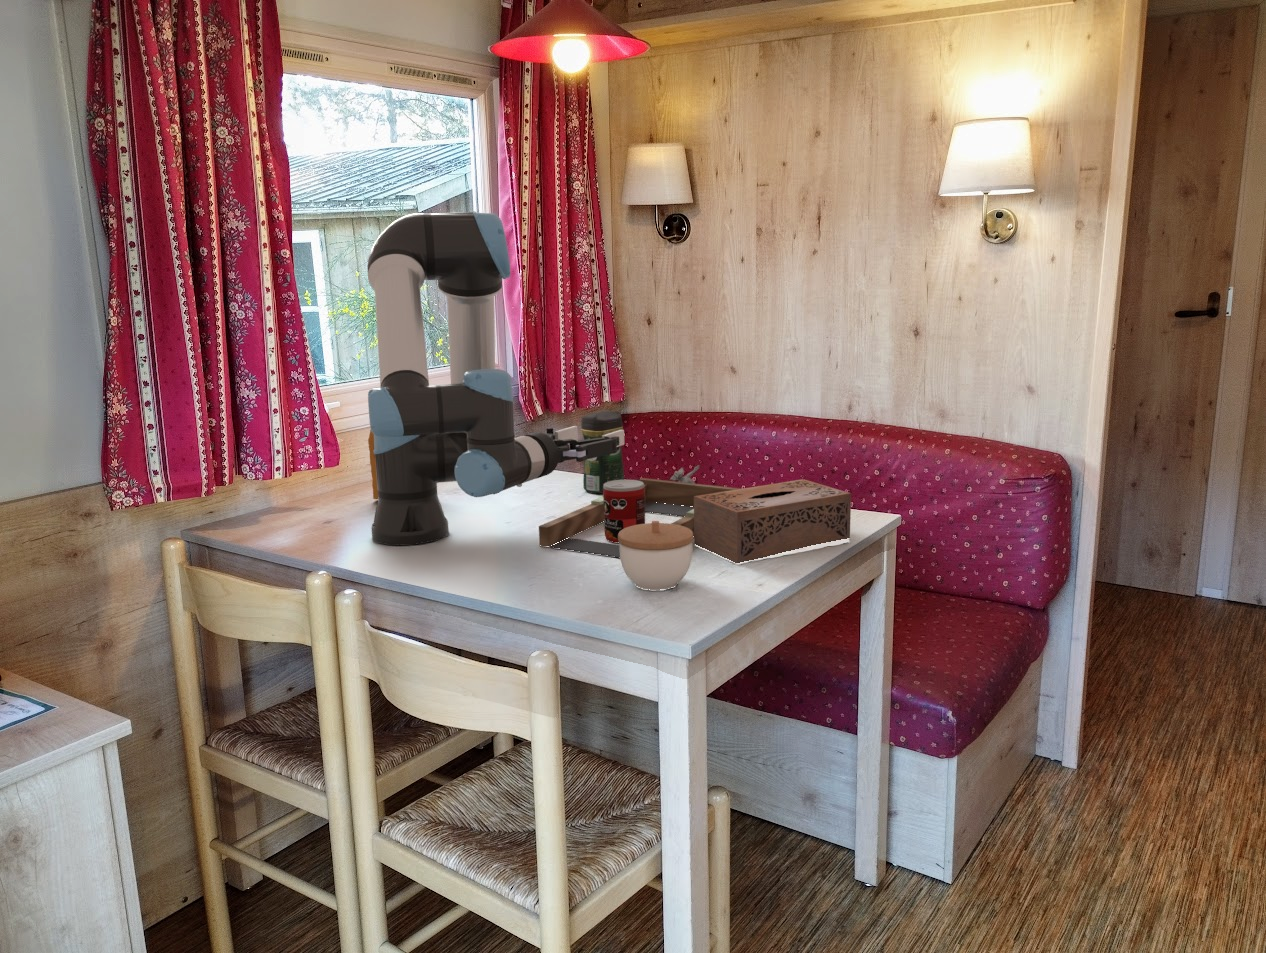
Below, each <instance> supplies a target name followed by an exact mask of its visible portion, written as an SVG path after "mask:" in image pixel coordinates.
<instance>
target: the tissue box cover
mask: <svg viewBox="0 0 1266 953" xmlns="http://www.w3.org/2000/svg"><path fill="white" fill-rule="evenodd" d="M851 509H852V493H851V492H848V491H844V490H841V489H838V488H835V487H832V486H828V485H824V484H821V483H818V482H815V481H811V480H807V479H804V478H803V479H795V480H790V481H784V482H778V483H777V482H776V483H769V484H763V485H757V486H752V487H743V488H741V489H737V490H730V491H724V492H717V493H711V494H705V495H698V496H694V538H693V545H694V544H696V545H698V546H700V547H702V548H705V549H707V550H709V551H711V552H714V553H716V554H718V555H720V556H722V557H724V558H727V559H729V560H731V561H733V562H735V563H740V562H744V561H749V560H754V559H758V558H763V557H767V556H770V555H775V554H778V553H782V552H786V551H791V550H795V549H799V548H803V547H807V546H811V545H816V544H821V543H826V542H831V541H836V540H841V539H847V538H850V539H851V513H852V511H851Z"/></svg>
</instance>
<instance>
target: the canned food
mask: <svg viewBox="0 0 1266 953" xmlns="http://www.w3.org/2000/svg"><path fill="white" fill-rule="evenodd" d="M602 494H603V499H604V522H603V526H604V536H605V540H606V541H608V540H609V541H608V542H610V541H613V542H612V543H614V542H619V541H618V533H619V532H620V531H621V530H622V529H624V528H627V527H630V526H633V525H639V524H646V512H645V491H644V483H643V482H641V481H639V479H638V480H637V479H625V480H613V481H609V482H606V483H604V486H603V493H602Z"/></svg>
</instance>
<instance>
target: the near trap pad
mask: <svg viewBox="0 0 1266 953" xmlns="http://www.w3.org/2000/svg"><path fill="white" fill-rule="evenodd" d="M550 547H554V548H560V549H559V550H561V549H567V550H574V551H580V552H579V553H581V552H588V553H594V554H601V555H608V556H615V557H620V552H619V544H616V543H615V544H614V543H606V542H601V541H600V542H599V541H593V540H586V539H579V538H574V537H570V538H568V539H565V540H563V541H561V542H559V543H557V544H555V545H552V546H550ZM550 547H549V548H550ZM554 548H553V549H554ZM567 550H566V551H567ZM574 551H573V552H574ZM594 554H593V555H594ZM601 555H600V556H601Z"/></svg>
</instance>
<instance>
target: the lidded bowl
mask: <svg viewBox="0 0 1266 953" xmlns="http://www.w3.org/2000/svg"><path fill="white" fill-rule="evenodd" d="M618 541H619V543H618V545H619V552H620V558H619V559H620V563H621V567H622V569H623V571H624V573H625V575H626V577H628V579H629V580H630V581H631V582H632V583H634V585H635V584H636V586H638V587H640V588H643V589H648V590H649V589H650V590H660V589H668V588H671V587H674V586H676V585H677V583H678V584H679V583H680V582H681V581H682V580H683V579H684V577H685V576H686V575H687V573H688V572H689V569H690V567H691V564H692V559H693V558H692V557H693V546H694V538H693V532H692V531H691V530H690V529H689V528H687V527H684V526H681V525H676V524H671V523H666V522H665V523H664V522H660V521H659V520H652V521H651V522H649V523H645V524H639V525H633V526H630V527H627V528H624V529H622V530H621V531H620V532H619V533H618ZM636 586H635V587H636ZM677 586H678V585H677ZM677 586H676V587H677Z"/></svg>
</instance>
